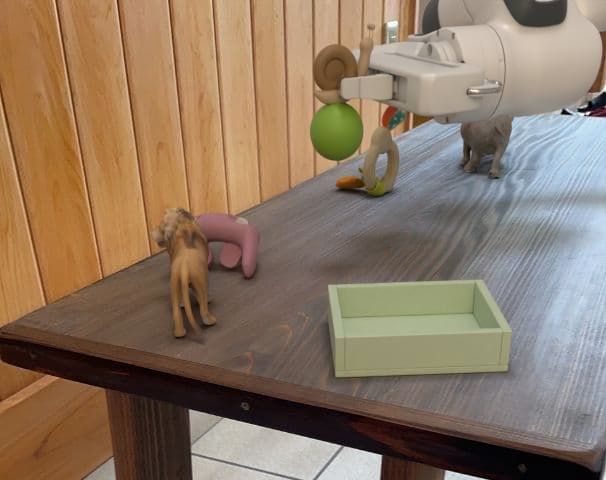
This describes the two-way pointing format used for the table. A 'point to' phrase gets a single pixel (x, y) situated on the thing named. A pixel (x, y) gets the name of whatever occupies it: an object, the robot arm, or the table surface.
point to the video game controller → (231, 240)
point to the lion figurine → (185, 265)
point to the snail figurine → (338, 100)
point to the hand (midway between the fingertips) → (333, 86)
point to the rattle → (379, 145)
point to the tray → (416, 329)
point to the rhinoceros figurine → (485, 142)
